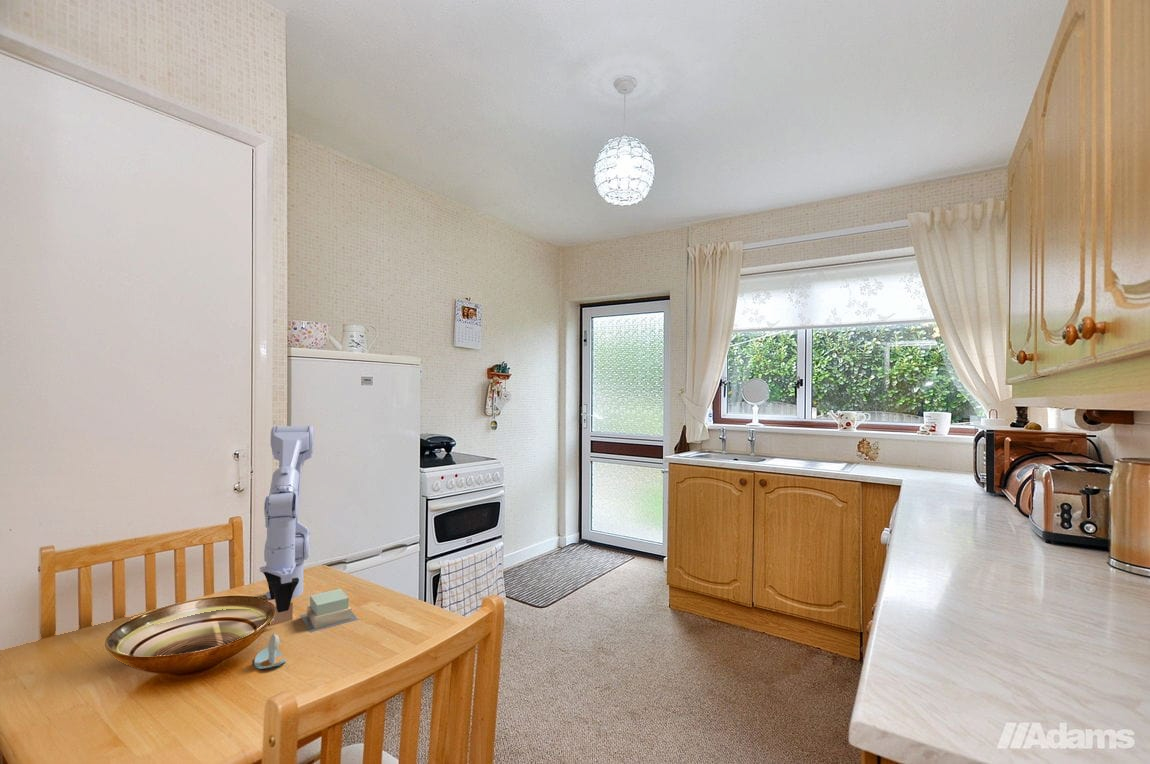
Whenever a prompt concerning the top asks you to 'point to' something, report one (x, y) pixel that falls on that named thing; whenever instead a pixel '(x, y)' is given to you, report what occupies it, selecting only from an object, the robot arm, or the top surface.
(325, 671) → the top surface
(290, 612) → the terracotta block
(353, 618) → the slate board
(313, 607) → the sage slab
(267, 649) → the pacifier
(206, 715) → the top surface
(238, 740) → the top surface
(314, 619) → the oak slab
